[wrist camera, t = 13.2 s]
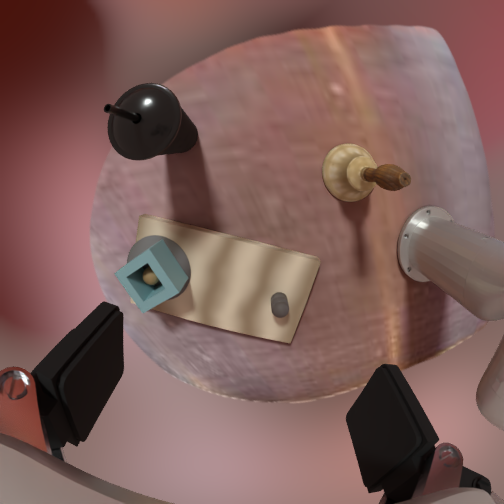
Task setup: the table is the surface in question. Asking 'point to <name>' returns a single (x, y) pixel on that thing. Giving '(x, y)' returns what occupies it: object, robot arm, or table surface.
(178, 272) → the collar
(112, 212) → the table surface
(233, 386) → the table surface
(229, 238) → the base board
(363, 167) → the hand bell
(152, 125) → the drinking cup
